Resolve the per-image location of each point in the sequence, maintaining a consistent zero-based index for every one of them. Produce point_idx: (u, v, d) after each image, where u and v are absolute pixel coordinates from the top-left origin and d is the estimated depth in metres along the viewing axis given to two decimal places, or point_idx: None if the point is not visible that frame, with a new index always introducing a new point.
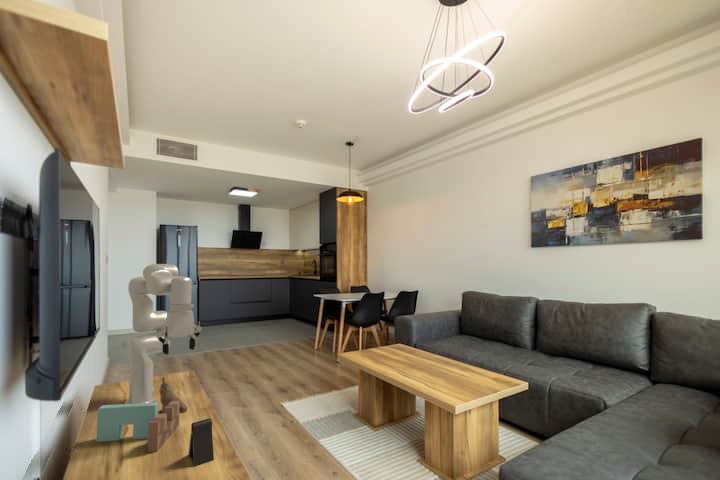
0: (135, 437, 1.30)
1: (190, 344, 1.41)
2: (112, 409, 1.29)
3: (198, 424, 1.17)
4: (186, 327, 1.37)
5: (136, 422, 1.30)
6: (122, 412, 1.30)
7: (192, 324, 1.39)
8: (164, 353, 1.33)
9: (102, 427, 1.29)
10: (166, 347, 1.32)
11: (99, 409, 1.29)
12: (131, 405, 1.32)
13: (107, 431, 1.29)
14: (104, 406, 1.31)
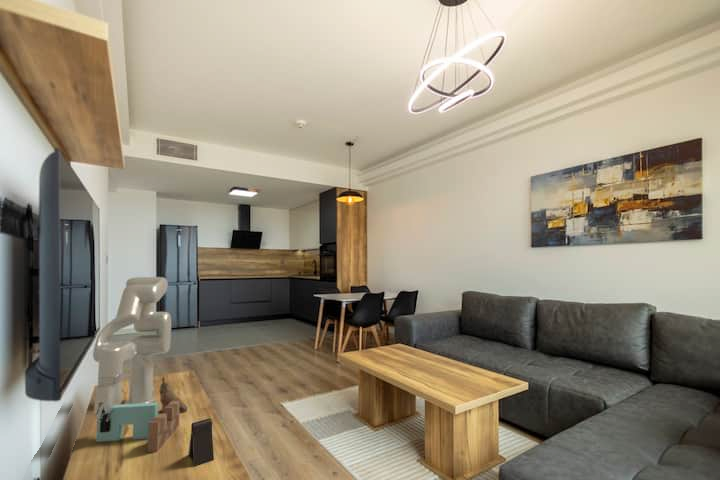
0: (135, 437, 1.30)
1: None
2: None
3: (198, 424, 1.17)
4: (118, 398, 1.33)
5: (136, 422, 1.30)
6: (122, 412, 1.30)
7: (121, 393, 1.35)
8: None
9: None
10: (108, 424, 1.28)
11: None
12: (131, 405, 1.32)
13: None
14: None
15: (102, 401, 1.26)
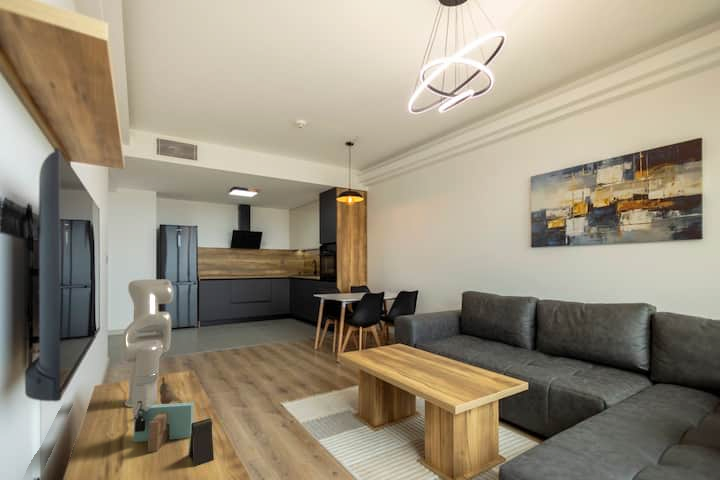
0: (172, 437, 1.30)
1: None
2: None
3: (198, 424, 1.17)
4: (155, 396, 1.33)
5: (172, 422, 1.30)
6: (159, 412, 1.30)
7: (157, 392, 1.35)
8: (137, 431, 1.26)
9: None
10: (143, 423, 1.26)
11: None
12: (167, 405, 1.31)
13: (143, 431, 1.29)
14: None
15: (140, 400, 1.26)
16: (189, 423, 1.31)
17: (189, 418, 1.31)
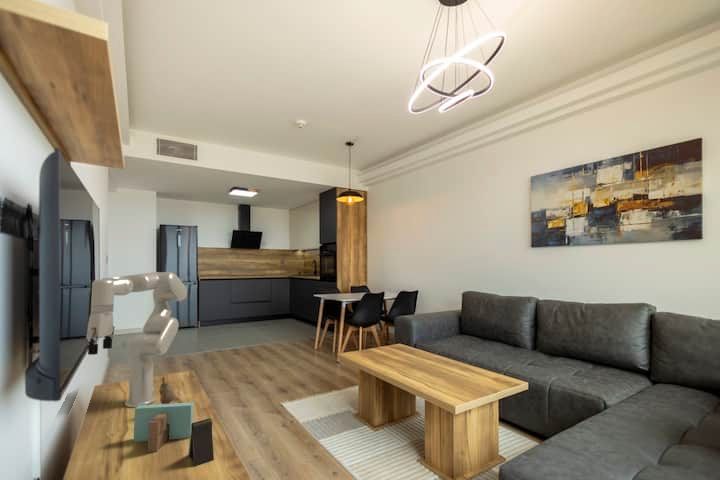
0: (172, 437, 1.30)
1: (106, 344, 1.46)
2: (148, 409, 1.29)
3: (198, 424, 1.17)
4: (109, 327, 1.44)
5: (172, 422, 1.30)
6: (159, 412, 1.30)
7: (112, 324, 1.46)
8: (90, 354, 1.36)
9: (139, 427, 1.28)
10: (96, 347, 1.37)
11: (136, 409, 1.29)
12: (167, 405, 1.31)
13: (143, 431, 1.29)
14: (140, 406, 1.31)
15: (94, 326, 1.37)
16: (189, 423, 1.31)
17: (189, 418, 1.31)
